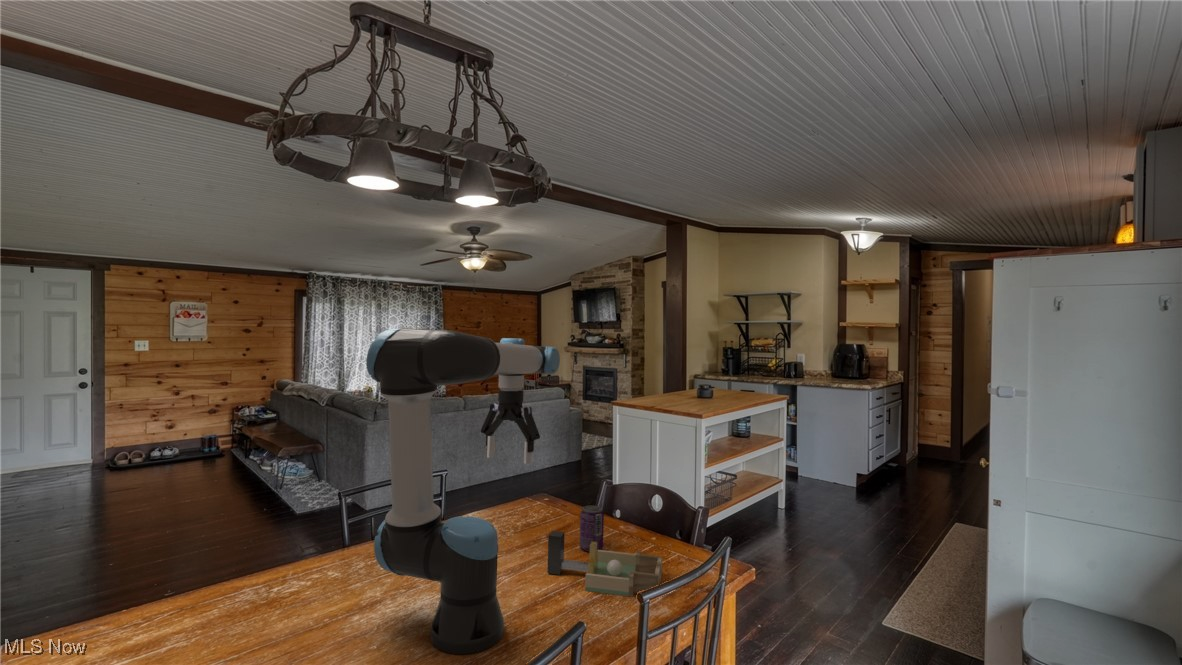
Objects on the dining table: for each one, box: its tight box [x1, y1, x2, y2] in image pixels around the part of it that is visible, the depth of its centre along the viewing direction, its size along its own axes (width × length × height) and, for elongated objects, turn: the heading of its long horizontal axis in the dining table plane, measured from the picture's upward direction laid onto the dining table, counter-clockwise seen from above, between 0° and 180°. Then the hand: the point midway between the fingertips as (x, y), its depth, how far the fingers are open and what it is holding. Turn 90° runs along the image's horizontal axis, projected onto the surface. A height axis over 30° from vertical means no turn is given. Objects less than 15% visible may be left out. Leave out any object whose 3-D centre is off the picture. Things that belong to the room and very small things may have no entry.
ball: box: [607, 560, 622, 576], centre depth 140 cm, size 4×4×4 cm
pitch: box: [584, 549, 636, 597], centre depth 140 cm, size 16×11×4 cm
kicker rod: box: [547, 530, 598, 576], centre depth 142 cm, size 6×13×10 cm, turn 78°
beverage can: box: [579, 505, 605, 553], centre depth 160 cm, size 7×7×12 cm
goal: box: [628, 550, 663, 598], centre depth 138 cm, size 16×7×5 cm, turn 168°
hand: (508, 460), depth 160 cm, fingers open, 13 cm apart
